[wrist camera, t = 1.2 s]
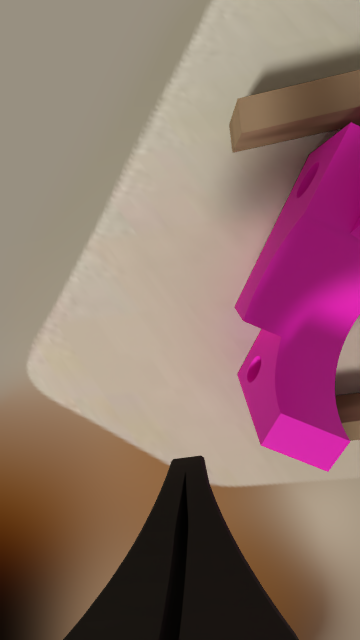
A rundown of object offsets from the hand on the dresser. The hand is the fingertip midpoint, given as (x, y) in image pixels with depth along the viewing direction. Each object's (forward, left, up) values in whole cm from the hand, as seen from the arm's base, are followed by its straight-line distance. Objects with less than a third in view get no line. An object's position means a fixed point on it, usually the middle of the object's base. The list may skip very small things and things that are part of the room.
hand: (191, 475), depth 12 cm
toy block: (-8, -5, -10) cm, 14 cm away
